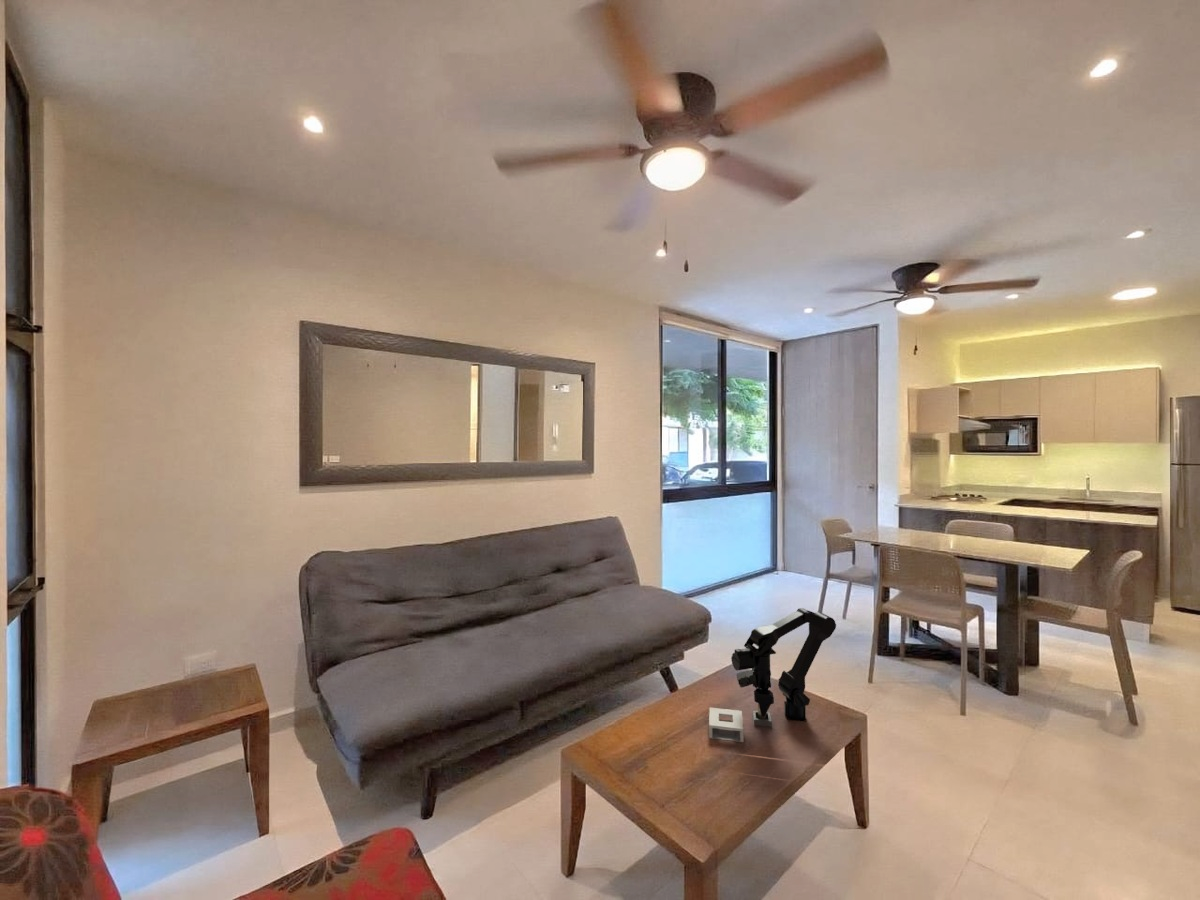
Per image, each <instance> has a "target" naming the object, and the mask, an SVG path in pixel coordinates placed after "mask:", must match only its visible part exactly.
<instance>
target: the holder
mask: <svg viewBox="0 0 1200 900" xmlns="http://www.w3.org/2000/svg"><path fill="white" fill-rule="evenodd" d="M752 721H753V725H754V726H761V727H770V728H772V723H773V721H772V717H771V712H769V711H767V713H766V720H765V719H758V710H752Z"/></svg>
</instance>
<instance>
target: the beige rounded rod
mask: <svg viewBox="0 0 1200 900" xmlns="http://www.w3.org/2000/svg"><path fill="white" fill-rule="evenodd" d="M757 711H758V719H765V720H766V715H765V716H761V711H760V707H759V703H757Z"/></svg>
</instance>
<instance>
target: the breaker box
mask: <svg viewBox="0 0 1200 900" xmlns="http://www.w3.org/2000/svg"><path fill="white" fill-rule="evenodd" d="M720 716H721V717H728V718H732V720H723V719H720ZM708 717H709V720H708V737H709V739H713V740H722V741H729V742H737V743H744V722H743V721H744V720H743V711H742V710H738V709H737V710H736V709H726V708H718V707H709V716H708Z"/></svg>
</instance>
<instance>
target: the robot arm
mask: <svg viewBox="0 0 1200 900" xmlns="http://www.w3.org/2000/svg"><path fill="white" fill-rule="evenodd" d="M805 624H808V635H807V637H806V640H805V641H804V643H803V645H802V647H801V649H800V651H799V653H798V655H797V658H796V659H795V661H794V664H792V665H793V666H792V667H791V669H789V670H788V671H786V670H783V671H782V673H781V676H780V677H779V678H778V685H777V686H778V689H779V690H780V692H781V693H782V696H784V697H785V700H784V702H783V706H784V707H783V709H784V711H783V713H784V716H785V717H786V719H787V720H788V721H797V722H807V717H806V707H807V706H809V704H810V701H811V699H810V697H808V696H807V695H806V694H805V690H806V677H807V675H808V672H809V670H810V668H811V666H812V664H813V662H814V660H815V658H816V656H817V654H818V651H819V649H820V648H821V646H822V643H823V642H825V641H826V640H827V639H829V638H831V636H832V635H833V633H834V632H835V630H836V629H837V624H836V621H835V619H834V618H833V617H831V616H830V615H827V614H825V613H823V612H821V611H817V612H813V611H811V610H808V609H806V608H803V607H800V608H798V609H797V610H796V611H794V612H792V613H790V614H789V615H787V616H785V617H783V618H781V619H779V620H777V621H776V622H775V623H773V624H770V625H762V626H759V627H756V628H754V629H752V630H751V632H750V635H749V637H748V638H747V640H746V642H745V643H744V645H743V646H744V648H741V649H739V648H736V649H734V652H733V653H732V654H731V658H730V659H731V664H732V667H733V669H734V670H736V671H740V672H737V674H736V679H737V683H738V685H739V687H740V688H745V687H749V686H751V685H752V687H754V688H755V690H754V691H753V699H754V702H755V703H757V704H758V703H759V707H760V711H761V716H765V715H766V713H767V712H769V708H770V707H771V705H774V704H775V697H774V693H773V692H772V691H771V690H770V688H772V683H771V676H772V671H771V655H775V654H777V651H775V650H774V649H773V647H774V646H775V645H777V643H778V641H779V639H781V638H782V637H784V636H785V635H787V634H789V633H791V632H793V631H794V630H796V629H798V628H800V627H802V626H803V625H805ZM755 646H757V647H755ZM742 670H743V671H742Z"/></svg>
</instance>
